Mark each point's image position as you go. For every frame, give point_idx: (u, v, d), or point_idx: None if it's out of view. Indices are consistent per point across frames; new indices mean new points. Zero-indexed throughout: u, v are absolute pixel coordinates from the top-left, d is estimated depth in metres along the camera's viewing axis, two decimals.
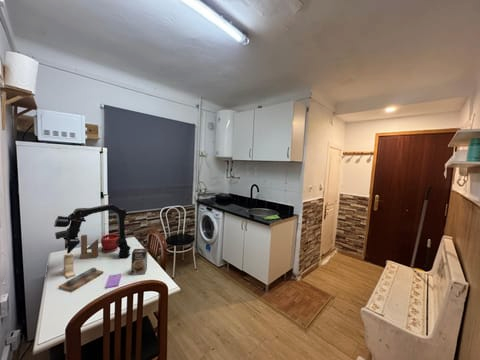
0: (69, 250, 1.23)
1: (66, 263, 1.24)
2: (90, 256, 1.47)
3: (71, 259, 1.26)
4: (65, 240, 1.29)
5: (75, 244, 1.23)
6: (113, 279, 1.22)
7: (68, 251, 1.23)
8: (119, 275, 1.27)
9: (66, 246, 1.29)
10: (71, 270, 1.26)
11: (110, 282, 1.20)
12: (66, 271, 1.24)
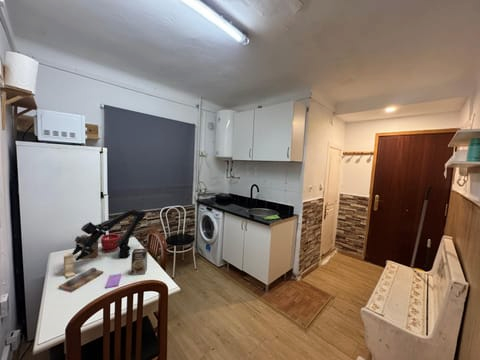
0: (79, 257, 1.26)
1: (66, 263, 1.24)
2: (90, 256, 1.47)
3: (71, 259, 1.26)
4: (76, 247, 1.33)
5: (88, 253, 1.28)
6: (113, 279, 1.22)
7: (77, 258, 1.26)
8: (119, 275, 1.27)
9: (73, 253, 1.31)
10: (71, 270, 1.26)
11: (110, 282, 1.20)
12: (66, 271, 1.24)
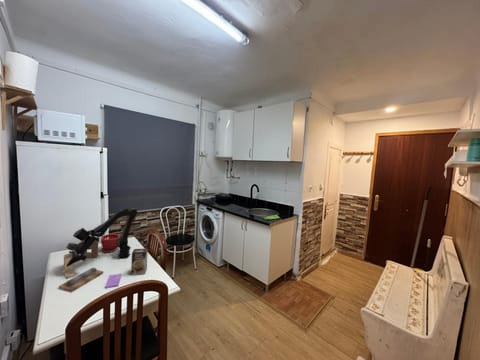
0: (70, 263, 1.25)
1: (66, 263, 1.24)
2: (90, 256, 1.47)
3: None
4: None
5: None
6: (113, 279, 1.23)
7: (68, 264, 1.24)
8: (119, 275, 1.27)
9: None
10: (71, 270, 1.26)
11: (110, 282, 1.20)
12: (66, 271, 1.24)
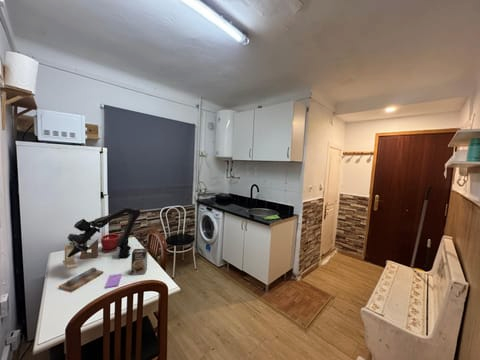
0: (71, 254, 1.23)
1: (67, 254, 1.22)
2: (90, 256, 1.47)
3: None
4: None
5: (81, 250, 1.25)
6: (113, 279, 1.23)
7: (70, 255, 1.23)
8: (119, 275, 1.27)
9: None
10: (72, 261, 1.25)
11: (110, 282, 1.20)
12: (67, 262, 1.23)
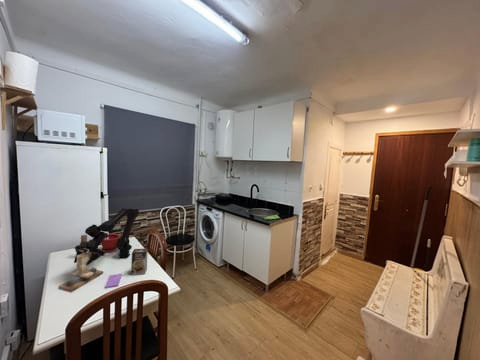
0: (89, 262, 1.19)
1: (82, 263, 1.18)
2: (90, 256, 1.47)
3: (86, 258, 1.20)
4: (78, 253, 1.22)
5: (99, 256, 1.23)
6: (113, 279, 1.23)
7: (88, 263, 1.18)
8: (119, 275, 1.27)
9: (76, 260, 1.20)
10: (86, 270, 1.21)
11: (110, 281, 1.20)
12: (82, 271, 1.19)
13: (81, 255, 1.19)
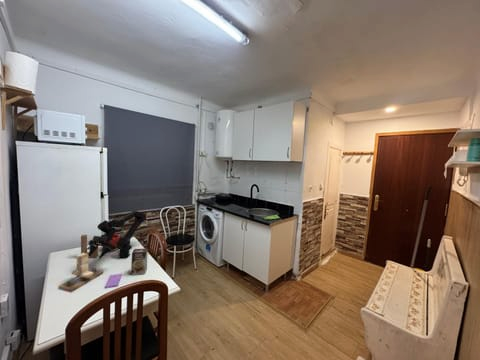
0: (102, 255, 1.28)
1: (82, 263, 1.18)
2: (90, 256, 1.47)
3: (86, 258, 1.20)
4: (92, 247, 1.31)
5: (111, 249, 1.31)
6: (113, 279, 1.23)
7: (101, 256, 1.27)
8: (119, 275, 1.27)
9: (90, 254, 1.30)
10: (86, 270, 1.21)
11: (110, 281, 1.20)
12: (82, 271, 1.19)
13: (81, 255, 1.19)
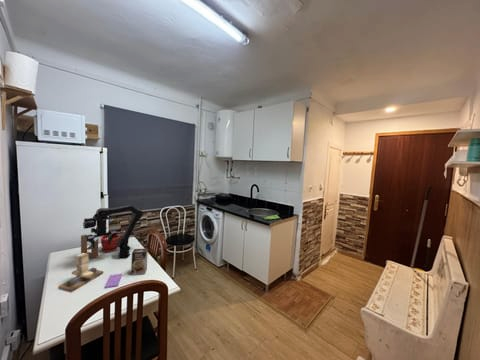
0: (92, 245, 1.36)
1: (82, 263, 1.18)
2: (90, 256, 1.47)
3: (86, 258, 1.20)
4: (108, 237, 1.45)
5: None
6: (113, 279, 1.23)
7: None
8: (119, 275, 1.27)
9: (108, 242, 1.44)
10: (86, 270, 1.21)
11: (110, 281, 1.20)
12: (82, 271, 1.19)
13: (81, 255, 1.19)
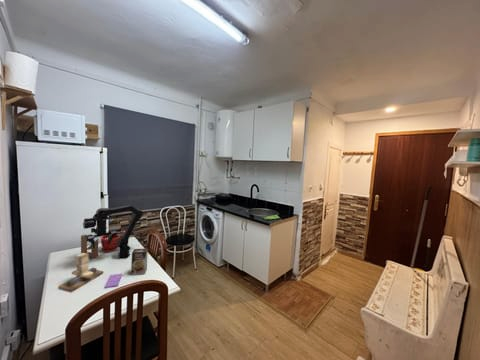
0: (92, 245, 1.36)
1: (82, 263, 1.18)
2: (90, 256, 1.47)
3: (86, 258, 1.20)
4: (108, 237, 1.45)
5: None
6: (113, 279, 1.23)
7: (92, 246, 1.36)
8: (119, 275, 1.27)
9: (108, 242, 1.44)
10: (86, 270, 1.21)
11: (110, 281, 1.20)
12: (82, 271, 1.19)
13: (81, 255, 1.19)
